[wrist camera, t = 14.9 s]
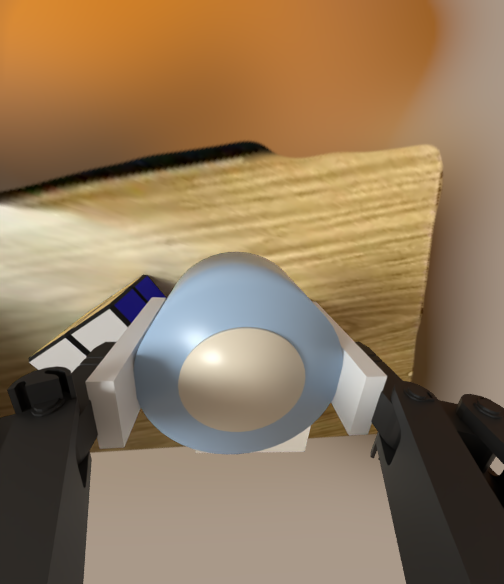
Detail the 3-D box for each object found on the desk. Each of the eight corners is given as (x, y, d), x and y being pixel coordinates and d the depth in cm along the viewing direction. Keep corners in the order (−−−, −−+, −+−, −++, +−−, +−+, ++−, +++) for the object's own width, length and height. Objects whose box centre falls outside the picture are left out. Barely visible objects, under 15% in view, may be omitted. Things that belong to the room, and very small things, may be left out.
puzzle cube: (195, 329, 33) (183, 378, 23) (139, 364, 34) (106, 425, 24) (146, 272, 29) (109, 303, 20) (85, 313, 30) (22, 362, 21)
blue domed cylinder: (170, 372, 15) (141, 464, 10) (163, 247, 12) (117, 280, 7) (291, 370, 16) (324, 453, 11) (309, 255, 13) (367, 289, 8)
